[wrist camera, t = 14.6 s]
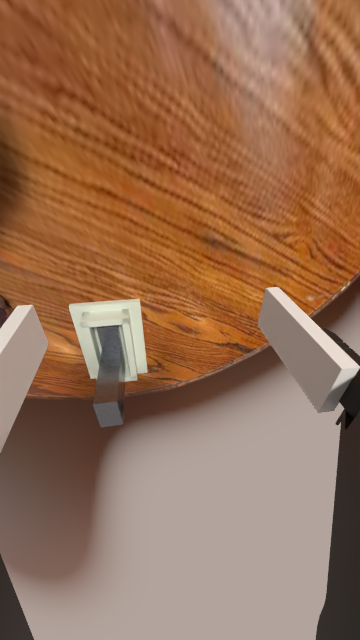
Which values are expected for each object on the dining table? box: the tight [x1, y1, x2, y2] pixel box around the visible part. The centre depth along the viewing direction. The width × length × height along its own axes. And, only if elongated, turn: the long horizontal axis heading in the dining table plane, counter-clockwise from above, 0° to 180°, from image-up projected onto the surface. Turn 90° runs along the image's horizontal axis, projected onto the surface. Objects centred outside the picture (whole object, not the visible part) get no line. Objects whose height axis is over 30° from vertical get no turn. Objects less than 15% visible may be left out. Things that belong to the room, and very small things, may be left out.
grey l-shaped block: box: [93, 325, 126, 427], centre depth 42 cm, size 4×11×14 cm, turn 0°
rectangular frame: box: [69, 299, 148, 382], centre depth 47 cm, size 12×18×4 cm, turn 0°
